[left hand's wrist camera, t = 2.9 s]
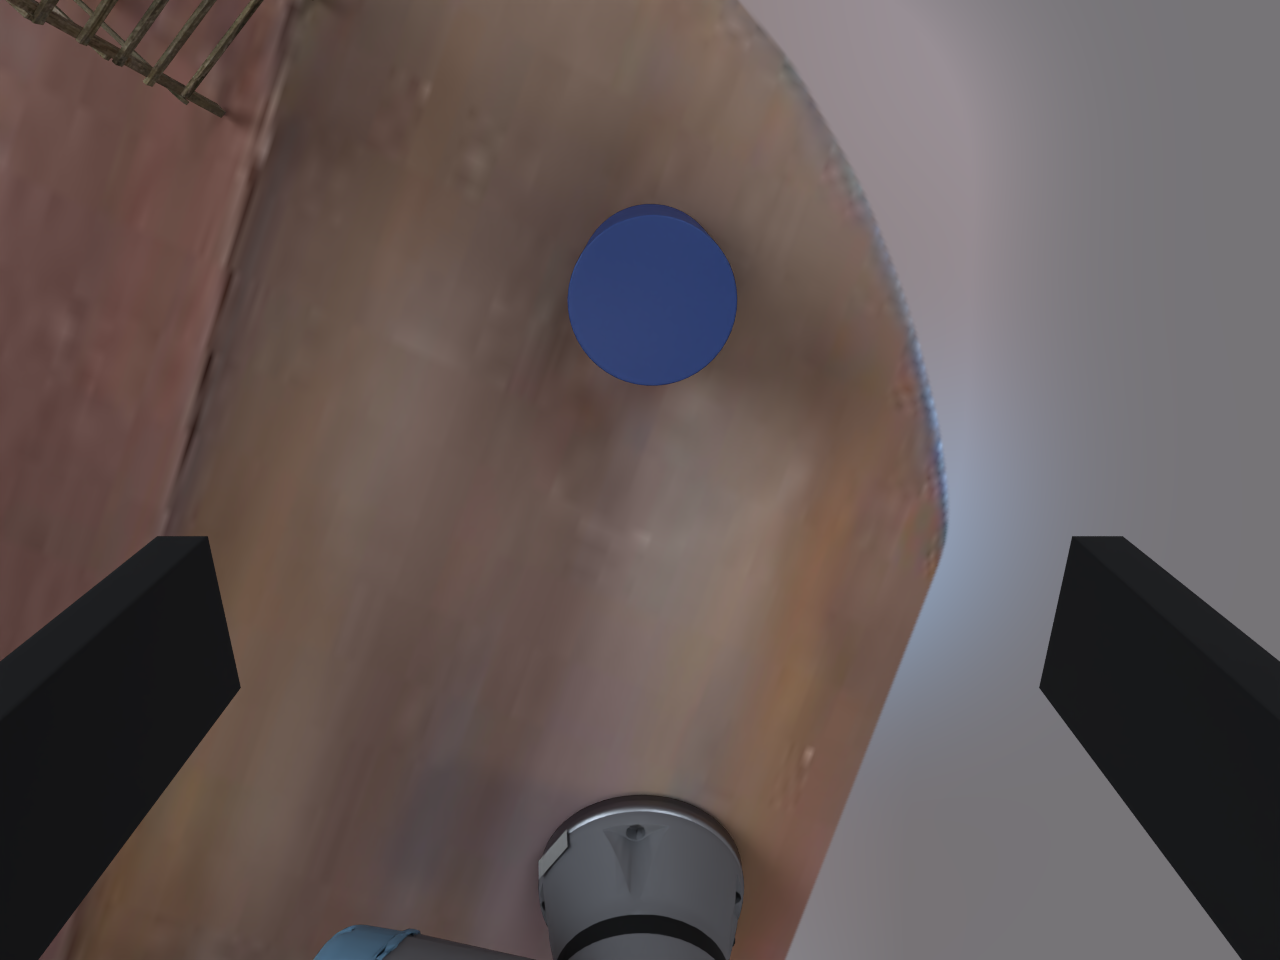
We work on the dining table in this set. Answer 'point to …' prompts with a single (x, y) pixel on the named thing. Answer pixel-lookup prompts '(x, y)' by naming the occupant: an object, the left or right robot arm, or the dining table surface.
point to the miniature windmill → (127, 55)
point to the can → (652, 296)
